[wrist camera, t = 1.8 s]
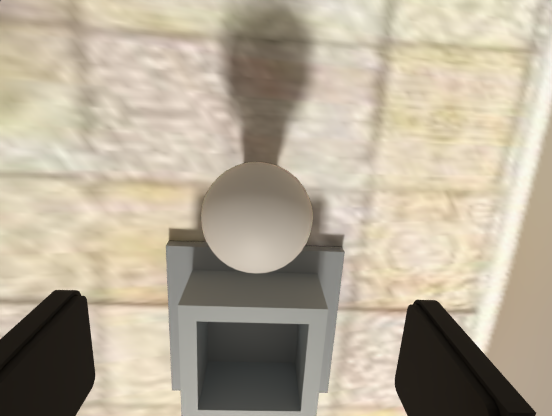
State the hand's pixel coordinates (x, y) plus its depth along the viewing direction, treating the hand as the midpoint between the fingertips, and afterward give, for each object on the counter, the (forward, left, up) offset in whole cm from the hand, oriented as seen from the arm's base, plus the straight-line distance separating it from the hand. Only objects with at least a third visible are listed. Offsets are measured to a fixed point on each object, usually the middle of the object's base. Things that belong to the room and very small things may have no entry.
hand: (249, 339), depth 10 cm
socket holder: (+12, 0, -18) cm, 21 cm away
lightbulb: (0, 0, -18) cm, 18 cm away
